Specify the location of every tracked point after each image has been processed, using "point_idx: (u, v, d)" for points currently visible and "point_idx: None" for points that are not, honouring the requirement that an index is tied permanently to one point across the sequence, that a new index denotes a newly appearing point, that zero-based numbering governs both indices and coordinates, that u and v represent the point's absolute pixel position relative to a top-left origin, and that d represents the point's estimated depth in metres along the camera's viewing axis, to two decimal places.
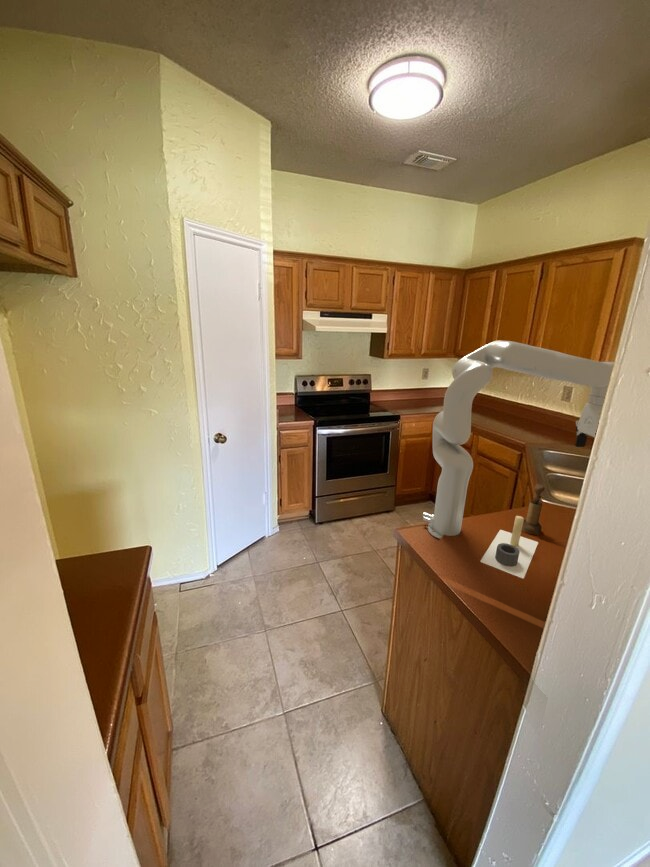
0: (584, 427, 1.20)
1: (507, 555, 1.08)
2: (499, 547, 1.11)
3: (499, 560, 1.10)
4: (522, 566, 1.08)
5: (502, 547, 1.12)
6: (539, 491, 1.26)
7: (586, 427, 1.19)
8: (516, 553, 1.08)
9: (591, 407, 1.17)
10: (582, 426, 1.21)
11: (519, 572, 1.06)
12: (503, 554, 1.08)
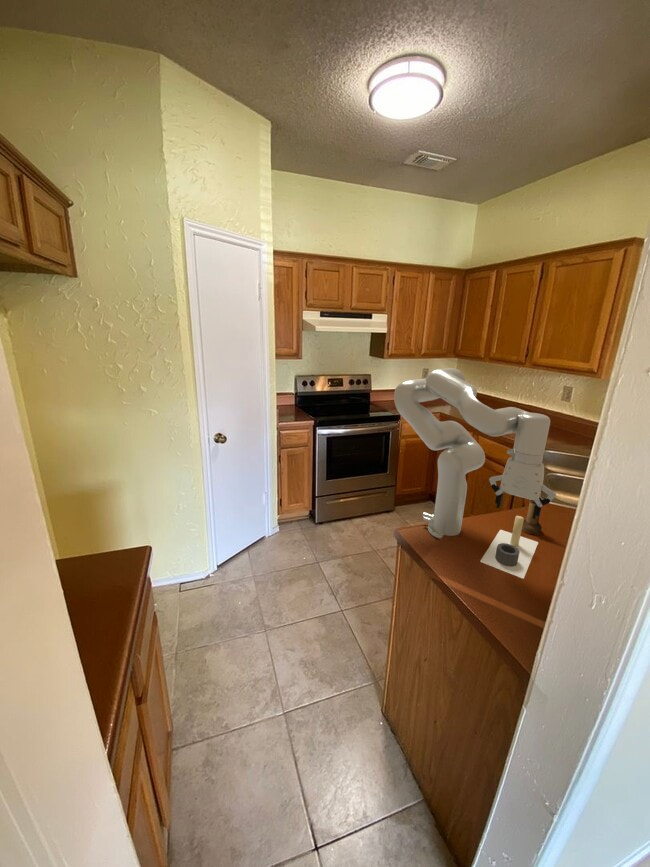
0: (514, 488, 1.03)
1: (507, 555, 1.08)
2: (499, 547, 1.11)
3: (499, 560, 1.10)
4: (522, 566, 1.08)
5: (502, 547, 1.12)
6: None
7: (516, 489, 1.02)
8: (516, 553, 1.08)
9: (521, 466, 1.00)
10: (510, 487, 1.03)
11: (519, 572, 1.06)
12: (503, 554, 1.08)
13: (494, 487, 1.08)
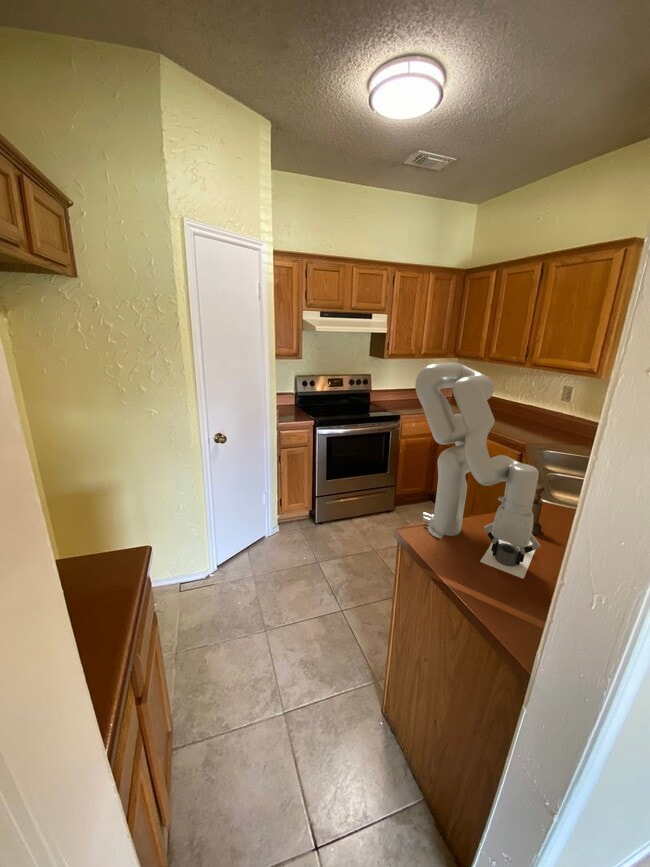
0: (504, 535, 1.07)
1: (507, 555, 1.08)
2: (499, 547, 1.11)
3: (499, 560, 1.10)
4: (522, 566, 1.08)
5: (502, 547, 1.12)
6: (539, 491, 1.26)
7: (507, 535, 1.07)
8: (516, 553, 1.08)
9: (511, 515, 1.05)
10: (501, 534, 1.08)
11: (519, 572, 1.06)
12: (503, 554, 1.08)
13: (490, 536, 1.12)
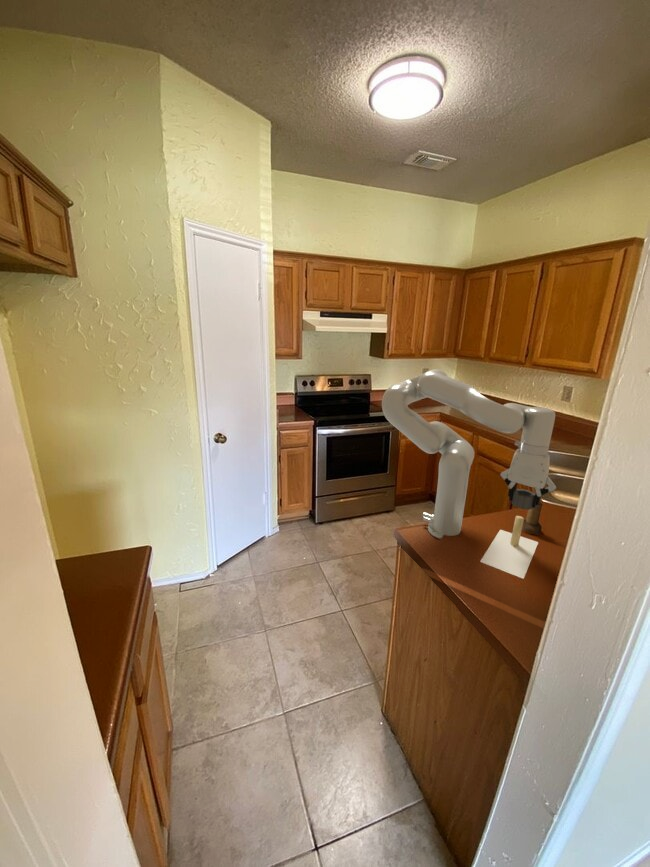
0: (520, 478, 1.10)
1: (523, 498, 1.10)
2: (515, 491, 1.14)
3: (515, 504, 1.13)
4: (522, 566, 1.08)
5: (518, 492, 1.15)
6: None
7: (523, 478, 1.09)
8: (532, 496, 1.11)
9: (527, 457, 1.08)
10: (517, 477, 1.11)
11: (519, 572, 1.06)
12: (519, 497, 1.11)
13: (507, 481, 1.15)
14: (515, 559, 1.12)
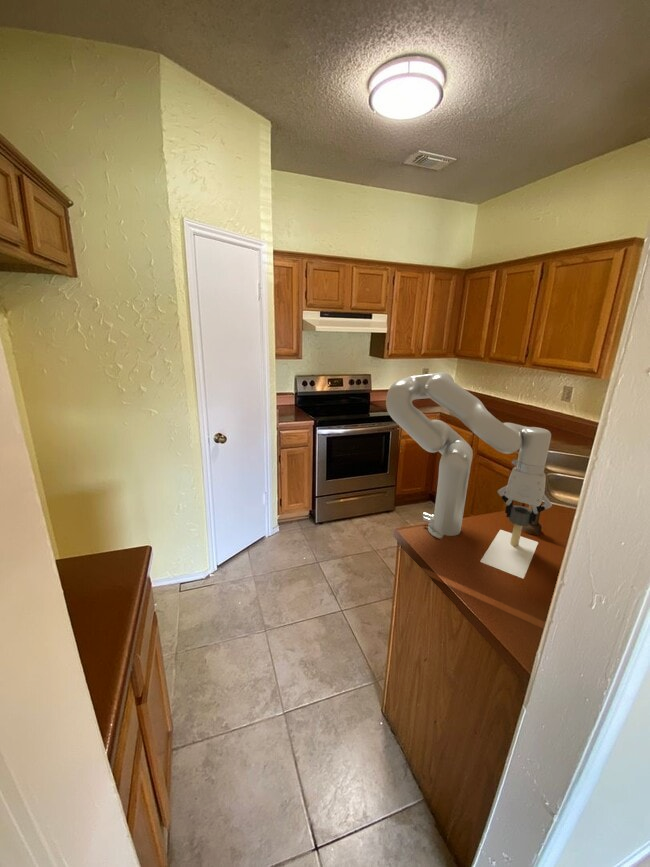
0: (518, 496, 1.13)
1: (520, 515, 1.13)
2: (512, 508, 1.16)
3: (512, 520, 1.16)
4: (522, 566, 1.08)
5: (515, 509, 1.18)
6: None
7: (520, 496, 1.12)
8: (529, 513, 1.14)
9: (524, 476, 1.10)
10: (514, 494, 1.13)
11: (519, 572, 1.06)
12: (517, 514, 1.14)
13: (504, 498, 1.17)
14: (515, 559, 1.12)
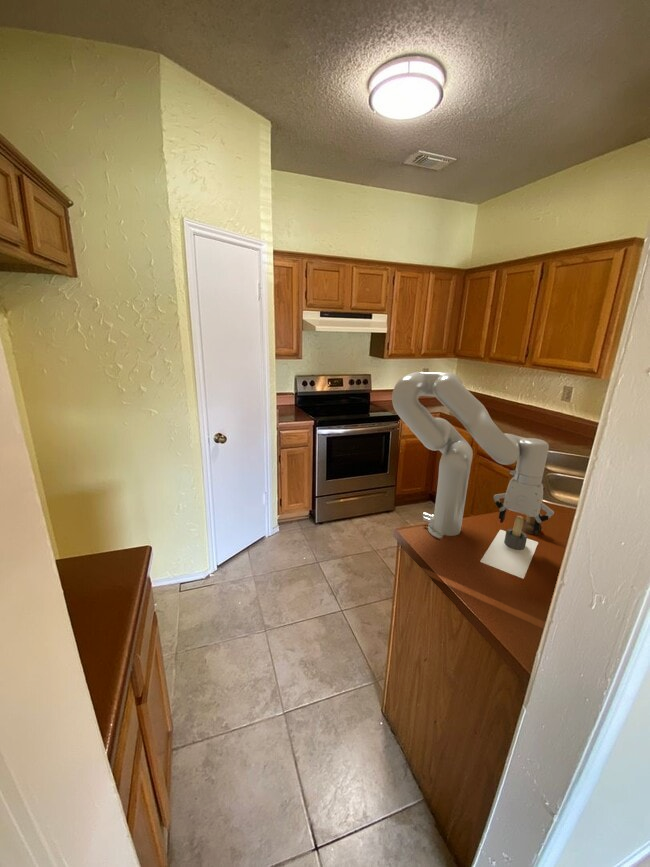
0: (516, 506, 1.14)
1: (516, 539, 1.16)
2: (508, 532, 1.19)
3: (508, 544, 1.18)
4: (522, 566, 1.08)
5: (511, 532, 1.20)
6: None
7: (518, 506, 1.13)
8: (524, 537, 1.16)
9: (522, 486, 1.12)
10: (512, 505, 1.14)
11: (519, 572, 1.06)
12: (512, 538, 1.17)
13: (498, 504, 1.19)
14: (515, 559, 1.12)
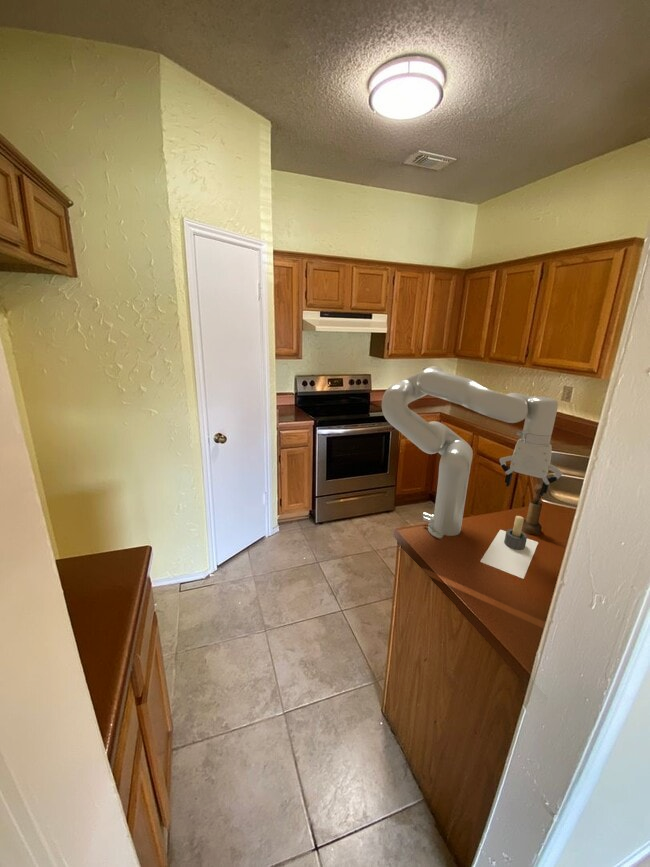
0: (523, 467, 1.10)
1: (516, 539, 1.16)
2: (508, 532, 1.19)
3: (508, 544, 1.18)
4: (522, 566, 1.08)
5: (511, 532, 1.20)
6: (539, 491, 1.26)
7: (525, 467, 1.10)
8: (524, 537, 1.16)
9: (530, 446, 1.08)
10: (519, 466, 1.11)
11: (519, 572, 1.06)
12: (512, 538, 1.17)
13: (504, 467, 1.15)
14: (515, 559, 1.12)
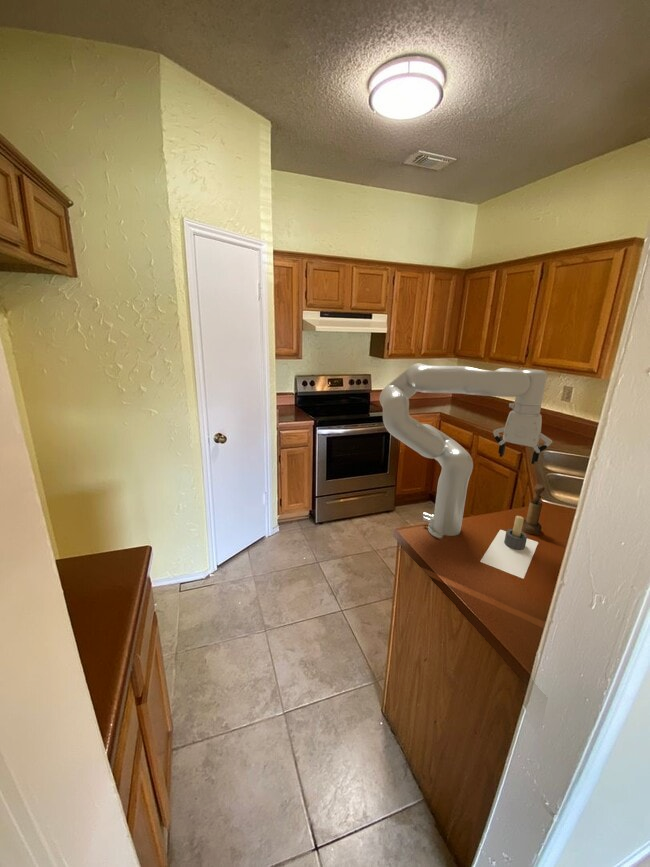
0: (515, 437, 1.16)
1: (516, 539, 1.16)
2: (508, 532, 1.19)
3: (508, 544, 1.18)
4: (522, 566, 1.08)
5: (511, 532, 1.20)
6: (539, 491, 1.26)
7: (517, 437, 1.16)
8: (524, 537, 1.16)
9: (521, 417, 1.14)
10: (511, 436, 1.17)
11: (519, 572, 1.06)
12: (512, 538, 1.17)
13: (497, 438, 1.22)
14: (515, 559, 1.12)
